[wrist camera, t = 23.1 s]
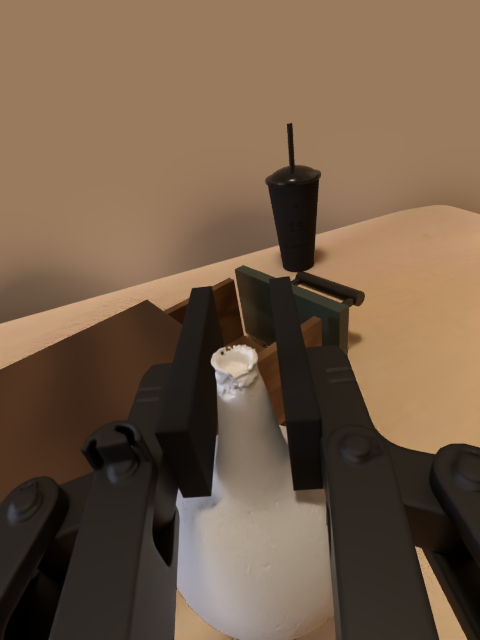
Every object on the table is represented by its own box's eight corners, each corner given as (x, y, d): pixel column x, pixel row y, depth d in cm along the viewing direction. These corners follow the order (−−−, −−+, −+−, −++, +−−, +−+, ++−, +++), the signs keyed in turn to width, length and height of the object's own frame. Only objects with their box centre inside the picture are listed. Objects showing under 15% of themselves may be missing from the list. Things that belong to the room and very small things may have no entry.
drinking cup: (269, 260, 58) (255, 127, 47) (313, 251, 59) (309, 117, 48) (280, 280, 52) (266, 131, 41) (329, 270, 52) (329, 119, 41)
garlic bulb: (166, 667, 10) (30, 536, 5) (188, 467, 15) (127, 317, 11) (390, 649, 10) (439, 492, 5) (332, 450, 15) (332, 287, 10)
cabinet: (175, 378, 37) (147, 299, 32) (266, 466, 27) (249, 372, 22) (10, 480, 30) (-64, 399, 24) (53, 655, 20) (-59, 585, 14)
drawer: (289, 304, 44) (285, 244, 40) (385, 347, 35) (393, 274, 31) (136, 399, 34) (106, 332, 30) (213, 494, 25) (187, 418, 20)
